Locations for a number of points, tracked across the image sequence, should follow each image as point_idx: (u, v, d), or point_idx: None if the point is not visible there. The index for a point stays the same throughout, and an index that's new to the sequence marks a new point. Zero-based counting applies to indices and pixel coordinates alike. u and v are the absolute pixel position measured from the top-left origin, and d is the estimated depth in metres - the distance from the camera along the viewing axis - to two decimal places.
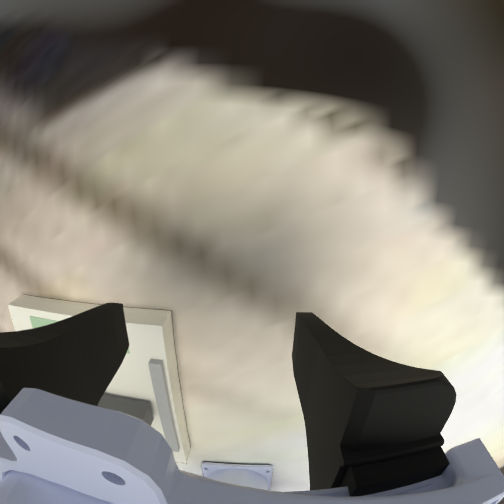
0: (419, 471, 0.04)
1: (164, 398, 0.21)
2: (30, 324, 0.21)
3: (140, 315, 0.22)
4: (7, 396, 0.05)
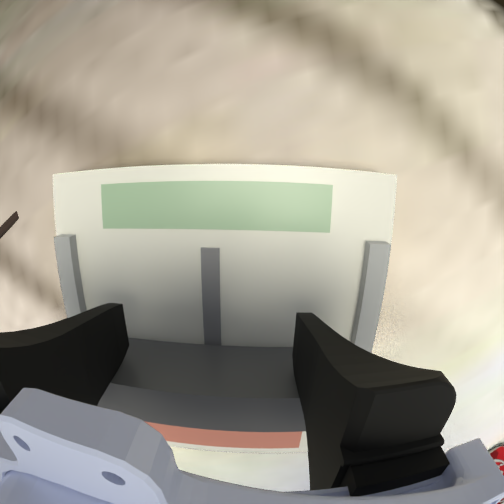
0: (419, 471, 0.04)
1: (374, 319, 0.13)
2: (98, 204, 0.12)
3: None
4: (7, 396, 0.05)
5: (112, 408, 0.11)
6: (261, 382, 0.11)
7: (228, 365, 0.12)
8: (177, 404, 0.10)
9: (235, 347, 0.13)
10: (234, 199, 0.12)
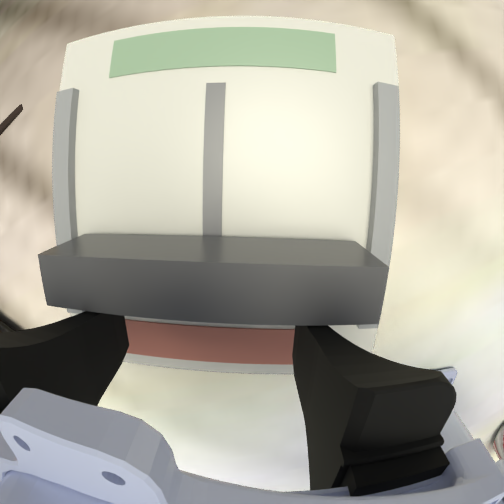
0: (419, 471, 0.04)
1: (394, 164, 0.11)
2: (107, 58, 0.11)
3: None
4: (7, 396, 0.05)
5: (86, 299, 0.09)
6: (269, 255, 0.10)
7: (229, 245, 0.11)
8: (164, 280, 0.09)
9: (238, 237, 0.12)
10: (242, 40, 0.10)
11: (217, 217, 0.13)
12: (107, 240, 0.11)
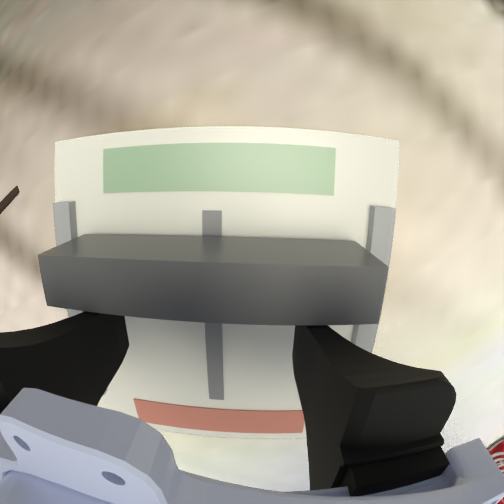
0: (419, 471, 0.04)
1: None
2: (99, 169, 0.12)
3: None
4: (7, 397, 0.05)
5: (86, 300, 0.09)
6: (268, 255, 0.10)
7: (229, 245, 0.11)
8: (164, 280, 0.09)
9: (237, 237, 0.12)
10: (237, 160, 0.12)
11: (218, 333, 0.14)
12: (107, 240, 0.11)
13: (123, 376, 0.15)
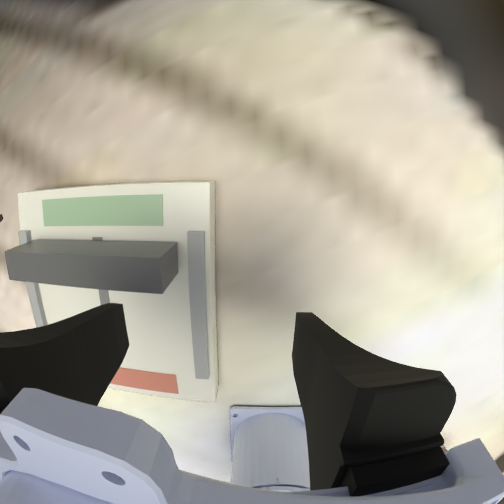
0: (419, 471, 0.04)
1: (201, 287, 0.19)
2: (41, 211, 0.19)
3: None
4: (7, 396, 0.05)
5: (26, 275, 0.16)
6: (105, 251, 0.16)
7: (95, 246, 0.17)
8: (56, 264, 0.15)
9: None
10: (107, 206, 0.18)
11: None
12: (41, 243, 0.17)
13: None
